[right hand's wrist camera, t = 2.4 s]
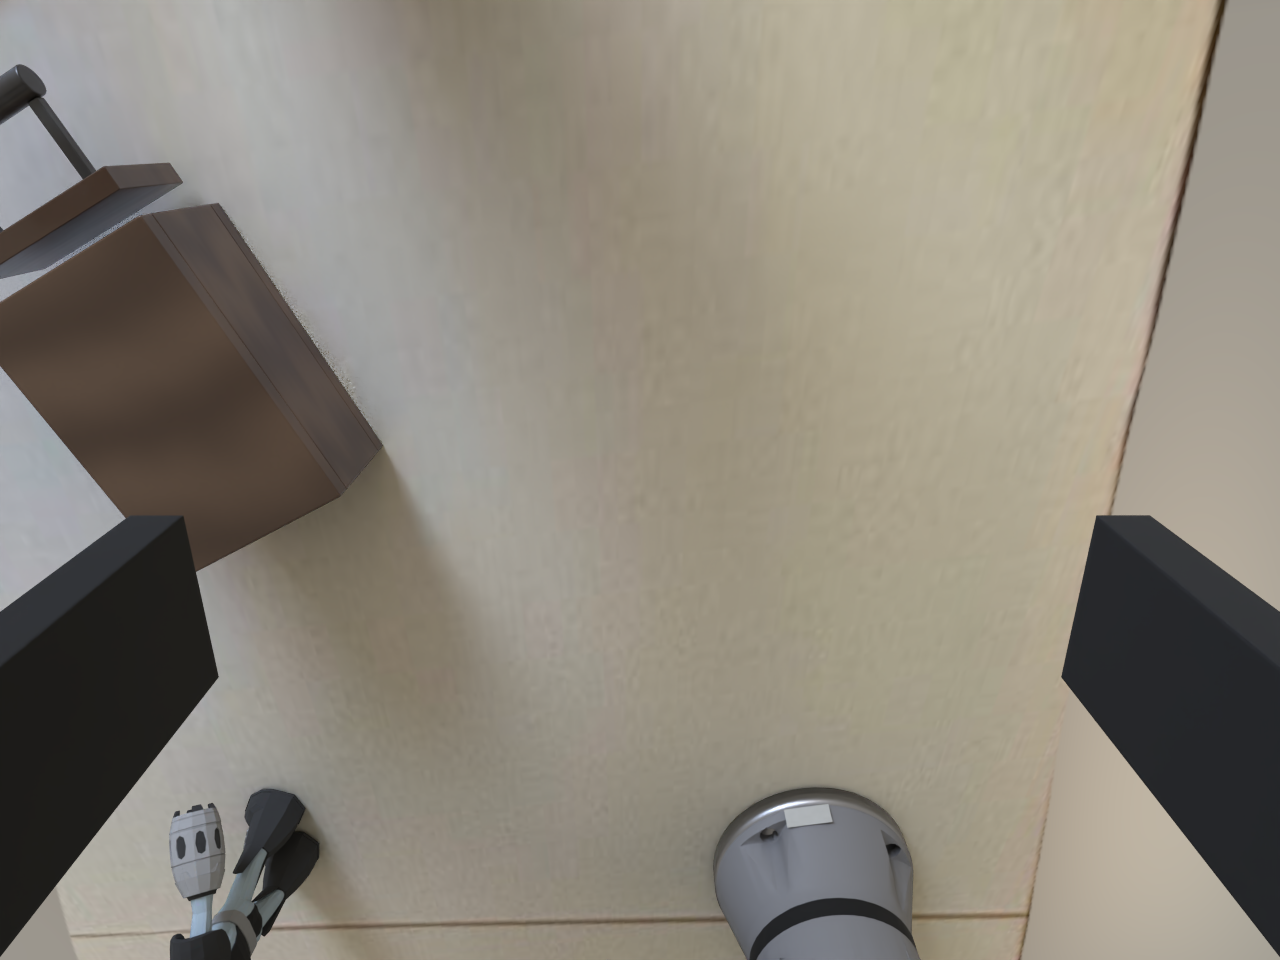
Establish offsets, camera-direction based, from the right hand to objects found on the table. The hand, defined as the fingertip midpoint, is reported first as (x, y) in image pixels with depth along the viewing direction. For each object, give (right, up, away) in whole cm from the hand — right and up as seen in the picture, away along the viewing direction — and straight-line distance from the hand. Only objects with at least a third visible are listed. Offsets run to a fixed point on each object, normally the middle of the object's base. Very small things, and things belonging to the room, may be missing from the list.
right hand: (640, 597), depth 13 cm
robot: (-28, -25, +54) cm, 66 cm away
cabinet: (-25, +8, +40) cm, 48 cm away
